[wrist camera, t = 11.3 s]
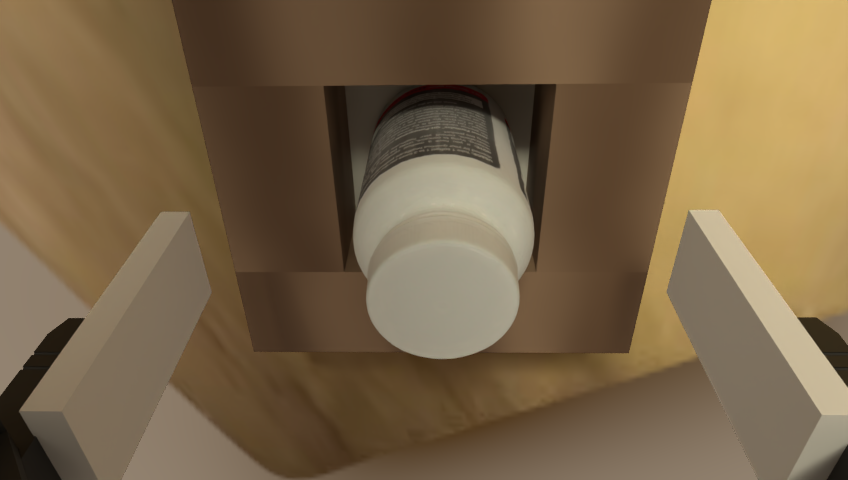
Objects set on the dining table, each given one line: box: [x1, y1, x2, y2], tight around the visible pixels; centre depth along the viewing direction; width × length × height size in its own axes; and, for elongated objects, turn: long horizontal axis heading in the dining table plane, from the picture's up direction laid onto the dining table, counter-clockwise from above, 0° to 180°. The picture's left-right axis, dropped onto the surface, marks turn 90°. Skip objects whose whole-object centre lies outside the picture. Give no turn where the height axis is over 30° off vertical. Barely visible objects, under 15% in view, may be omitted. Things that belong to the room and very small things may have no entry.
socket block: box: [172, 0, 712, 353], centre depth 22 cm, size 18×18×5 cm
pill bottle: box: [353, 85, 534, 359], centre depth 20 cm, size 5×5×10 cm
